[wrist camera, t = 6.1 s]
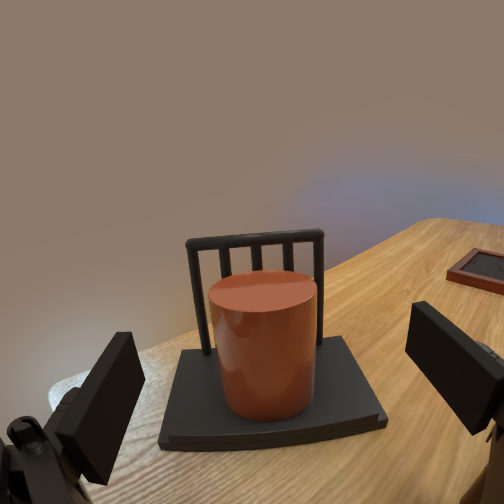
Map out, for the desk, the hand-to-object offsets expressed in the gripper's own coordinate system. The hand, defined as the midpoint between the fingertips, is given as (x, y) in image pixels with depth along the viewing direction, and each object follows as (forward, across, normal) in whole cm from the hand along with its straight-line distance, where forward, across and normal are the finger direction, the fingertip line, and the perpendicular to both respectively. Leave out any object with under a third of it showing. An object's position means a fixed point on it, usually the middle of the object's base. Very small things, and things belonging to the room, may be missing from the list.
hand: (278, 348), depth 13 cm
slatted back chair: (+11, 0, -12) cm, 16 cm away
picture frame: (+26, +49, -12) cm, 57 cm away
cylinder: (+10, 0, -11) cm, 15 cm away
